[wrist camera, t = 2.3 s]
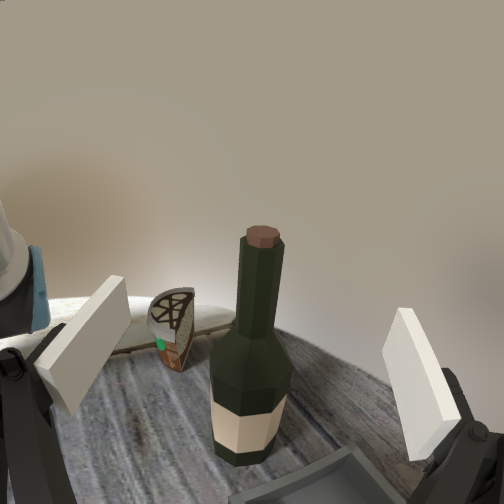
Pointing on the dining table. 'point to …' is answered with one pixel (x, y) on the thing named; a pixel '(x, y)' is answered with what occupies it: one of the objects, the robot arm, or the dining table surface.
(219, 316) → the dining table surface
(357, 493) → the tote
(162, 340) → the food container
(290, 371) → the wine bottle
